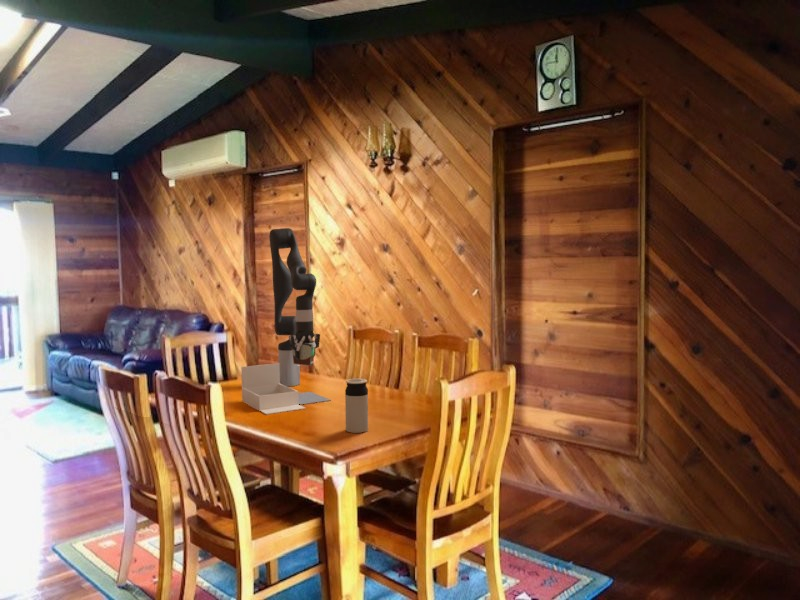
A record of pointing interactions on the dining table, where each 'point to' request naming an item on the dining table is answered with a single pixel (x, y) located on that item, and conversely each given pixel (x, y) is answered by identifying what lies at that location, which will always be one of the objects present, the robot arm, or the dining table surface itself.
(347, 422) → the travel mug
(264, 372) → the carton
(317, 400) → the slate mat
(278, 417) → the dining table surface
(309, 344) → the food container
